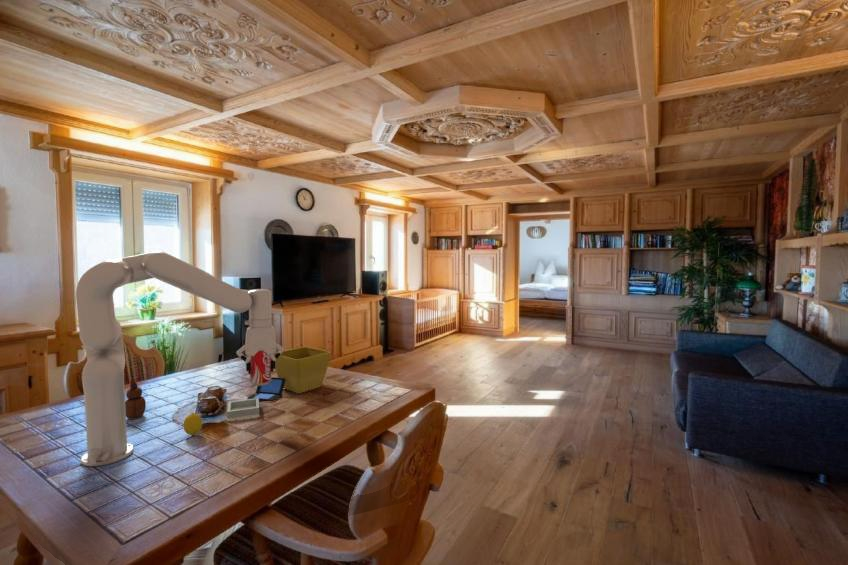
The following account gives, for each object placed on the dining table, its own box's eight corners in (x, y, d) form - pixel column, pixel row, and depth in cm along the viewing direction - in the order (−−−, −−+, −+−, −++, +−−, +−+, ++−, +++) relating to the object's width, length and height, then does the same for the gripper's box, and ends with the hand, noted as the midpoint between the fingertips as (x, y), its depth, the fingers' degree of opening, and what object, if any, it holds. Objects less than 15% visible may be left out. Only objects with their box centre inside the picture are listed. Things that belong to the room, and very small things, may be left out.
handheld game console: (245, 400, 170) (245, 383, 170) (261, 392, 181) (260, 376, 180) (272, 403, 168) (272, 385, 167) (286, 394, 178) (286, 378, 178)
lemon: (199, 430, 141) (199, 408, 140) (204, 435, 137) (204, 412, 136) (181, 435, 137) (181, 412, 136) (186, 441, 133) (185, 417, 132)
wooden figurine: (133, 421, 148) (131, 381, 147) (120, 420, 149) (118, 380, 148) (149, 414, 154) (148, 376, 153) (137, 413, 156) (135, 375, 155)
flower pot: (305, 379, 200) (305, 345, 199) (331, 386, 189) (331, 351, 187) (271, 389, 184) (271, 353, 183) (297, 398, 173) (297, 359, 172)
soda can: (246, 383, 146) (246, 348, 145) (265, 379, 151) (265, 345, 150) (255, 387, 141) (255, 351, 140) (274, 383, 146) (274, 348, 145)
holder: (259, 417, 152) (259, 408, 152) (227, 422, 148) (226, 412, 148) (258, 405, 164) (258, 397, 164) (228, 409, 160) (228, 400, 160)
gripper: (233, 326, 138) (234, 377, 139) (286, 323, 145) (286, 372, 146) (234, 323, 145) (234, 371, 146) (285, 320, 152) (285, 367, 153)
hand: (260, 371), depth 146 cm, fingers closed on soda can, 7 cm apart
